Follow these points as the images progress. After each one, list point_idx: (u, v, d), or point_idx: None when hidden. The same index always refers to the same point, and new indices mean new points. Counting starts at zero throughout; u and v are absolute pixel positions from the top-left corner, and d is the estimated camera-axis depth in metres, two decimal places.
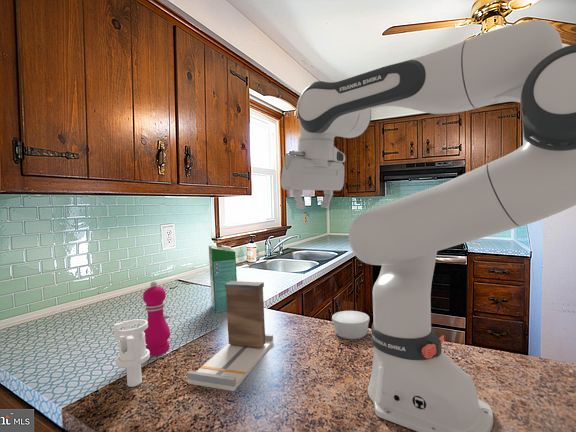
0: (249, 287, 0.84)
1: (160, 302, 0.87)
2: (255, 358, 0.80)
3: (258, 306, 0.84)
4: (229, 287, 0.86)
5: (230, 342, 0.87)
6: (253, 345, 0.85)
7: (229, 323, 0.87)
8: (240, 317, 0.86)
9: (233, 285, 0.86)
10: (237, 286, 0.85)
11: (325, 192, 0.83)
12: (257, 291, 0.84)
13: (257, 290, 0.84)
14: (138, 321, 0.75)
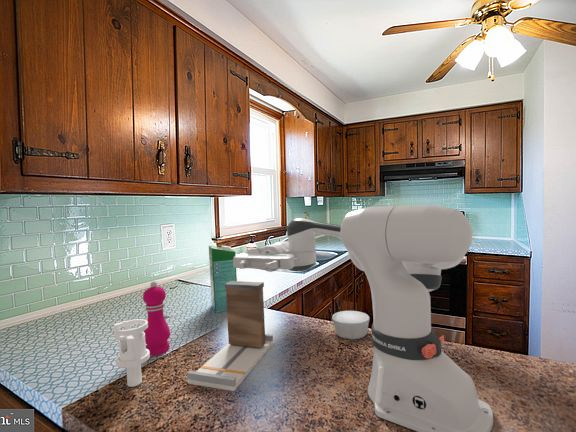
0: (249, 287, 0.84)
1: (160, 302, 0.87)
2: (255, 358, 0.80)
3: (258, 306, 0.84)
4: (229, 287, 0.86)
5: (230, 342, 0.87)
6: (253, 345, 0.85)
7: (229, 323, 0.87)
8: (240, 317, 0.86)
9: (233, 285, 0.86)
10: (237, 286, 0.85)
11: (245, 261, 0.98)
12: (257, 291, 0.84)
13: (257, 290, 0.84)
14: (138, 321, 0.75)
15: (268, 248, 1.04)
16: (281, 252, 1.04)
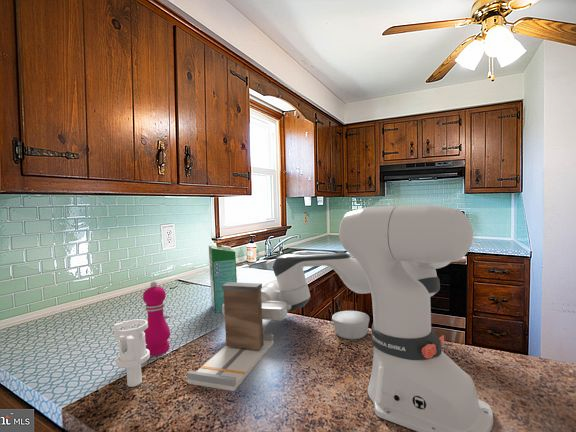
0: (247, 289, 0.83)
1: (160, 302, 0.87)
2: (255, 358, 0.80)
3: (256, 308, 0.83)
4: (227, 288, 0.85)
5: (228, 344, 0.86)
6: (251, 347, 0.84)
7: (227, 325, 0.86)
8: (238, 319, 0.85)
9: (231, 286, 0.85)
10: (235, 287, 0.84)
11: None
12: (255, 292, 0.83)
13: (255, 291, 0.83)
14: (138, 321, 0.75)
15: None
16: (273, 297, 0.99)
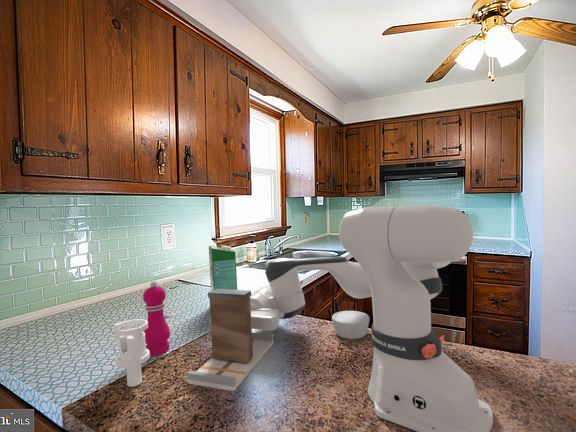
0: (234, 297, 0.76)
1: (160, 302, 0.87)
2: (255, 358, 0.80)
3: (244, 317, 0.76)
4: (213, 296, 0.78)
5: (214, 356, 0.79)
6: (239, 360, 0.77)
7: (213, 335, 0.79)
8: (225, 329, 0.78)
9: (217, 294, 0.78)
10: (221, 295, 0.78)
11: None
12: (243, 301, 0.76)
13: (243, 299, 0.76)
14: (138, 321, 0.75)
15: (250, 300, 0.92)
16: (265, 305, 0.92)
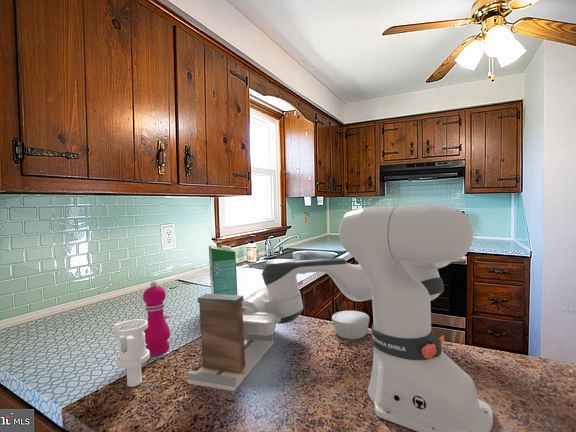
0: (225, 302, 0.72)
1: (160, 302, 0.87)
2: (255, 358, 0.80)
3: (235, 324, 0.72)
4: (203, 301, 0.74)
5: (204, 365, 0.75)
6: (230, 369, 0.73)
7: (203, 343, 0.75)
8: (216, 337, 0.74)
9: (207, 299, 0.74)
10: (212, 300, 0.73)
11: None
12: (235, 306, 0.72)
13: (235, 305, 0.72)
14: (138, 321, 0.75)
15: (245, 304, 0.88)
16: (261, 308, 0.88)
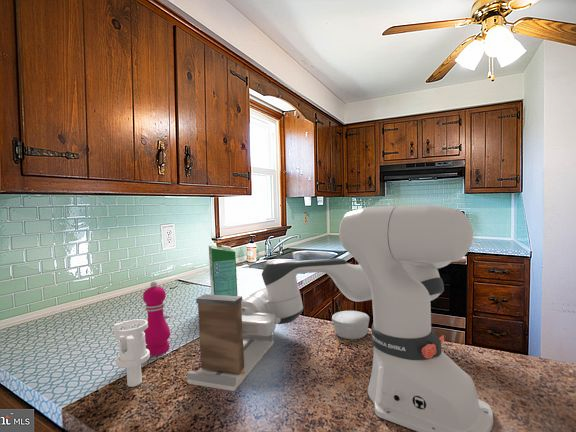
0: (224, 303, 0.72)
1: (160, 302, 0.87)
2: (255, 358, 0.80)
3: (234, 325, 0.71)
4: (201, 302, 0.74)
5: (203, 366, 0.75)
6: (229, 370, 0.72)
7: (202, 344, 0.74)
8: (215, 338, 0.73)
9: (206, 300, 0.73)
10: (210, 301, 0.73)
11: None
12: (233, 307, 0.71)
13: (233, 306, 0.71)
14: (138, 321, 0.75)
15: (245, 304, 0.88)
16: (260, 309, 0.88)
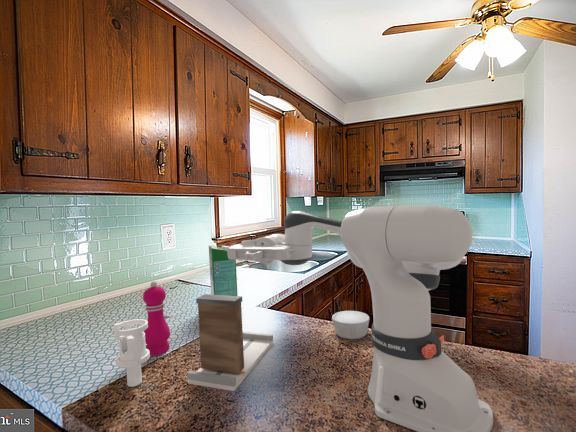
0: (224, 303, 0.72)
1: (160, 302, 0.87)
2: (255, 358, 0.80)
3: (234, 325, 0.71)
4: (201, 302, 0.74)
5: (203, 366, 0.75)
6: (229, 370, 0.72)
7: (202, 344, 0.74)
8: (215, 338, 0.73)
9: (206, 300, 0.73)
10: (210, 301, 0.73)
11: (251, 253, 0.95)
12: (233, 307, 0.71)
13: (233, 306, 0.71)
14: (138, 321, 0.75)
15: (263, 239, 1.02)
16: (276, 244, 1.02)
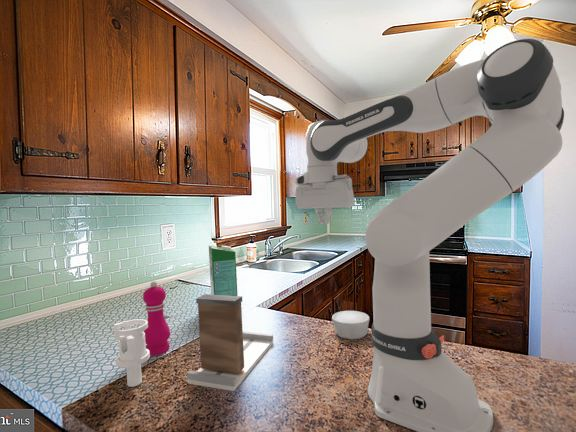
0: (224, 303, 0.72)
1: (160, 302, 0.87)
2: (255, 358, 0.80)
3: (234, 325, 0.71)
4: (201, 302, 0.74)
5: (203, 366, 0.75)
6: (229, 370, 0.72)
7: (202, 344, 0.74)
8: (215, 338, 0.73)
9: (206, 300, 0.73)
10: (210, 301, 0.73)
11: (319, 210, 0.93)
12: (233, 307, 0.71)
13: (233, 306, 0.71)
14: (138, 321, 0.75)
15: (314, 182, 0.90)
16: (328, 176, 0.88)
